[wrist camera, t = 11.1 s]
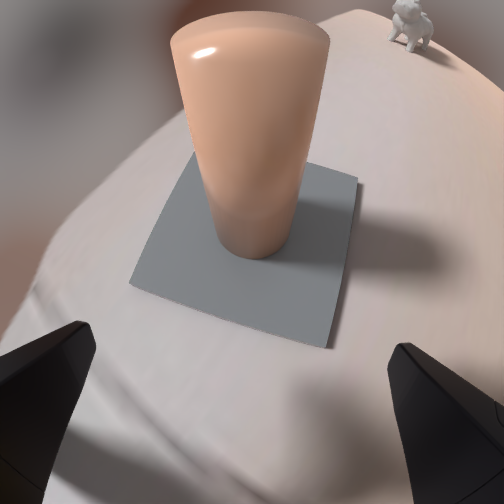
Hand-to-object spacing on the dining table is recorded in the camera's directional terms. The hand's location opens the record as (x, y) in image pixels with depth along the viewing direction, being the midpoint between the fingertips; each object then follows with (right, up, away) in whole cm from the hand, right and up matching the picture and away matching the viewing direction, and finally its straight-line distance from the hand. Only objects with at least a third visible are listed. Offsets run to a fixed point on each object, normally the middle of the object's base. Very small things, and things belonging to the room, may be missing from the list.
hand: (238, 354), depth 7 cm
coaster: (0, +4, +11) cm, 12 cm away
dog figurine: (+27, +38, +25) cm, 53 cm away
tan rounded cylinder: (0, +4, +10) cm, 11 cm away
